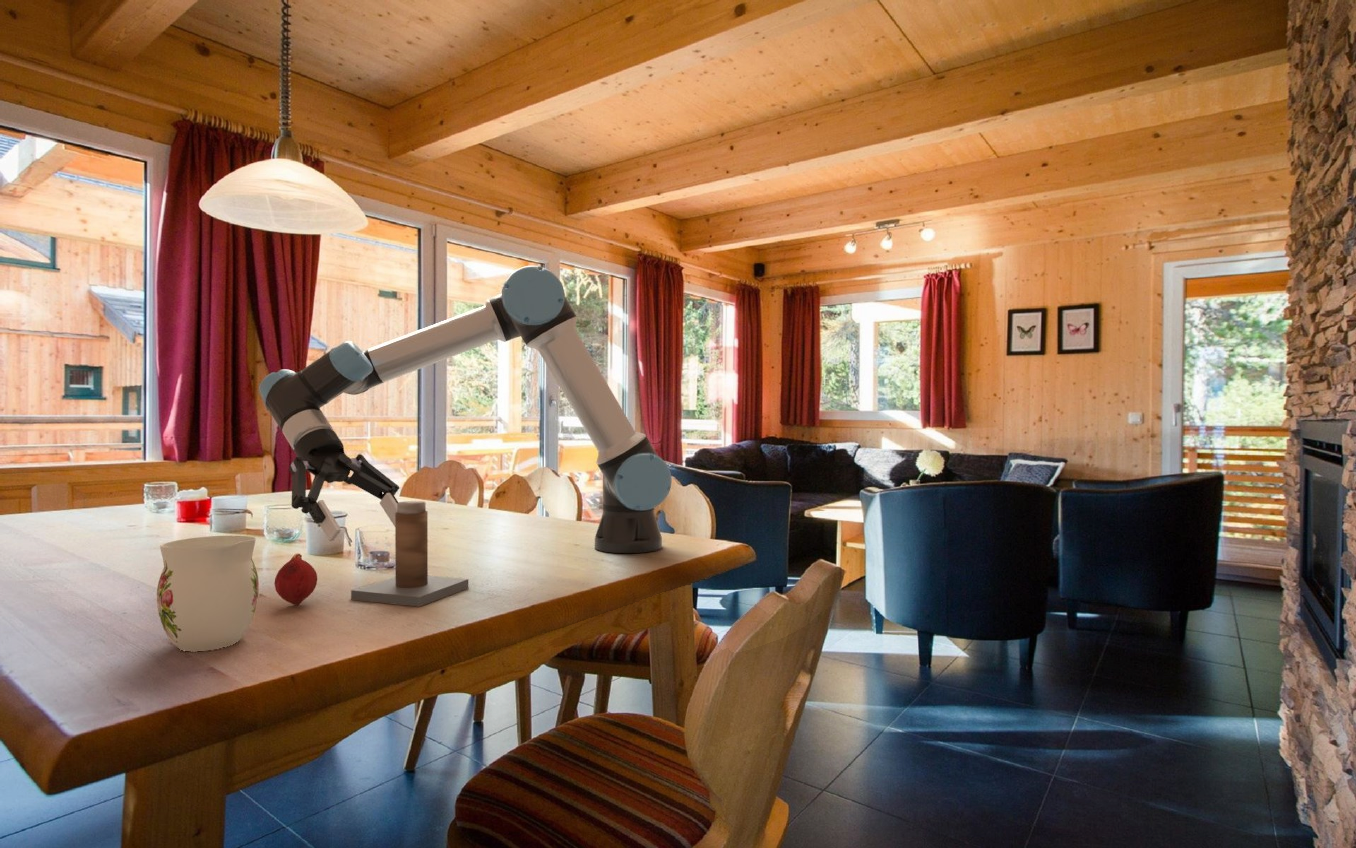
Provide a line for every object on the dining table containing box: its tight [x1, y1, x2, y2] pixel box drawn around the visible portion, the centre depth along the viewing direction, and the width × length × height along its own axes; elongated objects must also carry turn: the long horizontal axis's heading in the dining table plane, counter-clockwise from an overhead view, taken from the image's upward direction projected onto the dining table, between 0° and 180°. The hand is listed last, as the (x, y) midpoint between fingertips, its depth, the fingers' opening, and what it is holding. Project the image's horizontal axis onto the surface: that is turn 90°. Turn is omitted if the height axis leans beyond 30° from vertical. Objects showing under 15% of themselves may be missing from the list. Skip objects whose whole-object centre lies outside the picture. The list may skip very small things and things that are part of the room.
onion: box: [273, 553, 318, 606], centre depth 112 cm, size 6×6×8 cm
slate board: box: [350, 575, 469, 608], centre depth 120 cm, size 13×13×2 cm
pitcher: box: [156, 535, 260, 653], centre depth 94 cm, size 11×18×14 cm, turn 45°
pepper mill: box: [394, 500, 429, 588], centre depth 120 cm, size 5×5×14 cm
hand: (370, 530), depth 124 cm, fingers open, 13 cm apart
